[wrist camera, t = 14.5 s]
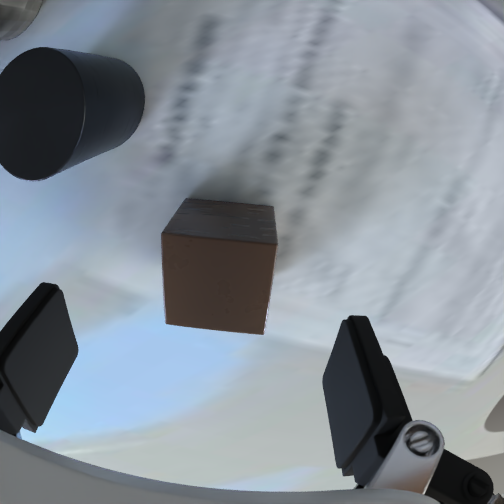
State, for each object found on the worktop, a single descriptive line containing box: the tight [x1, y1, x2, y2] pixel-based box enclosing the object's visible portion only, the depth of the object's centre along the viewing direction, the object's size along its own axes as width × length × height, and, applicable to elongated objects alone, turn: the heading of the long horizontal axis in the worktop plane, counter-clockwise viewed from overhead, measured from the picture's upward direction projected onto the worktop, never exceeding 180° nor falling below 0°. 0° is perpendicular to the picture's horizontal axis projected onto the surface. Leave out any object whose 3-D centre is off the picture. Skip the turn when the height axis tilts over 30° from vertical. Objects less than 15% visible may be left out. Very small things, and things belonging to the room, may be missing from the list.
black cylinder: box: [0, 47, 145, 181], centre depth 11 cm, size 5×5×6 cm
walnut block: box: [161, 198, 278, 335], centre depth 15 cm, size 4×4×4 cm
